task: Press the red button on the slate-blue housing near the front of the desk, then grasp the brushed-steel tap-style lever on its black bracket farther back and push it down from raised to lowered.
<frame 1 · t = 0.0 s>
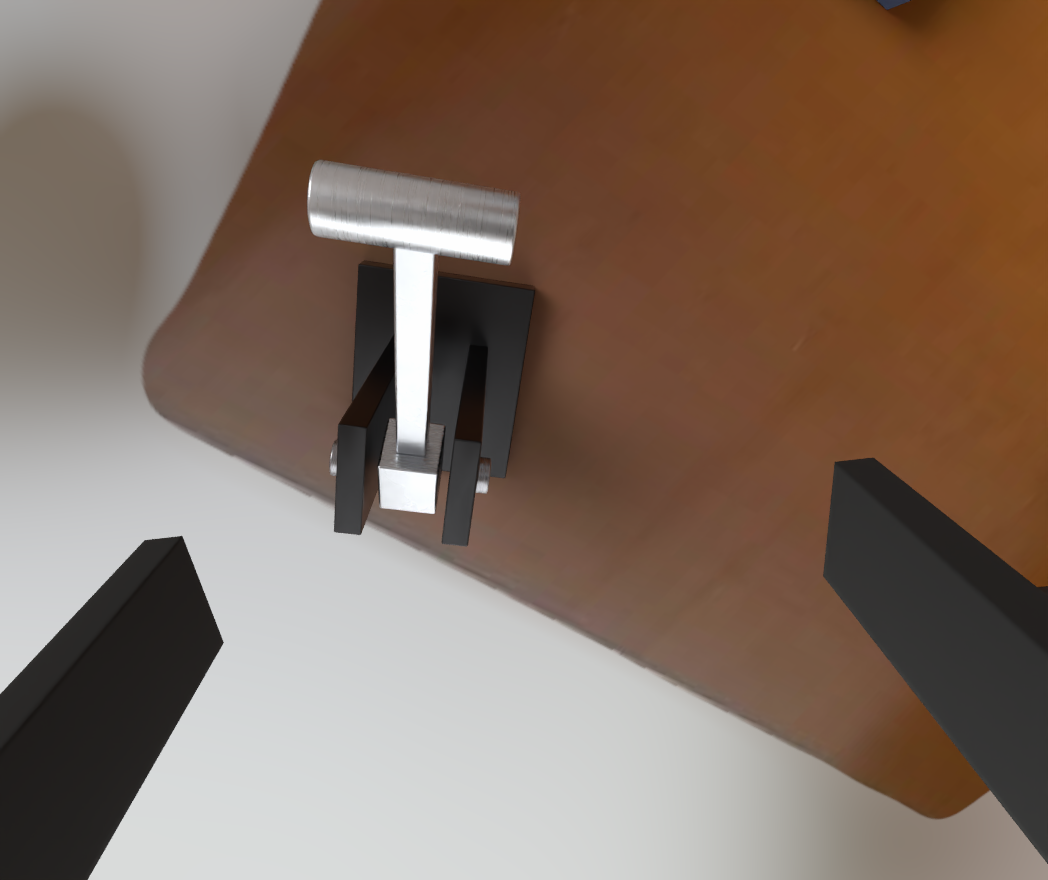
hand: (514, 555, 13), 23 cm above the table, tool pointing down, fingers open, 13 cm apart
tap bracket: (439, 372, 35), on the table
lever: (414, 372, 20), point 14 cm above the table, hinge at 28.0°
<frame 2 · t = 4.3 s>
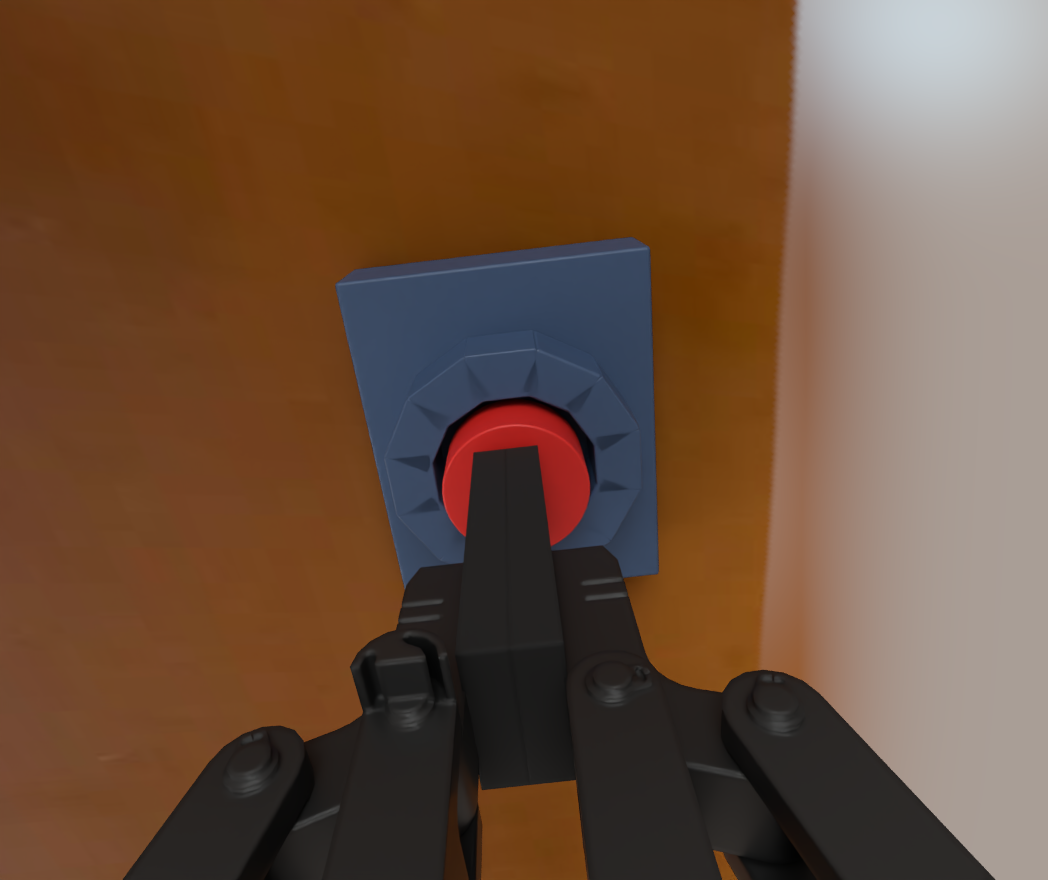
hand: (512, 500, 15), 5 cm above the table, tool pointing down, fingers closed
button: (515, 476, 16), point 4 cm above the table, slide at -0.3 cm, touching gripper
button box: (513, 416, 20), on the table
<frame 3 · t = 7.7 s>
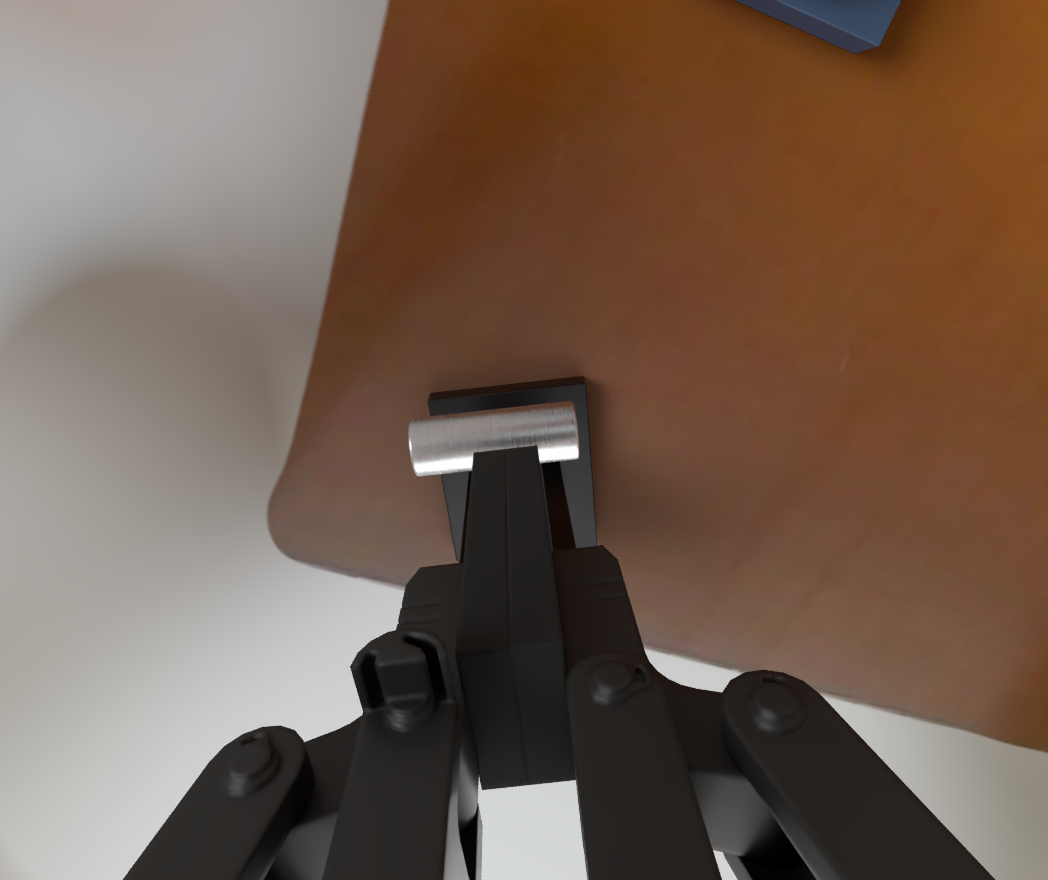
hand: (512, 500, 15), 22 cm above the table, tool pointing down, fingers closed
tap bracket: (516, 467, 39), on the table
lever: (512, 531, 24), point 14 cm above the table, hinge at 28.0°
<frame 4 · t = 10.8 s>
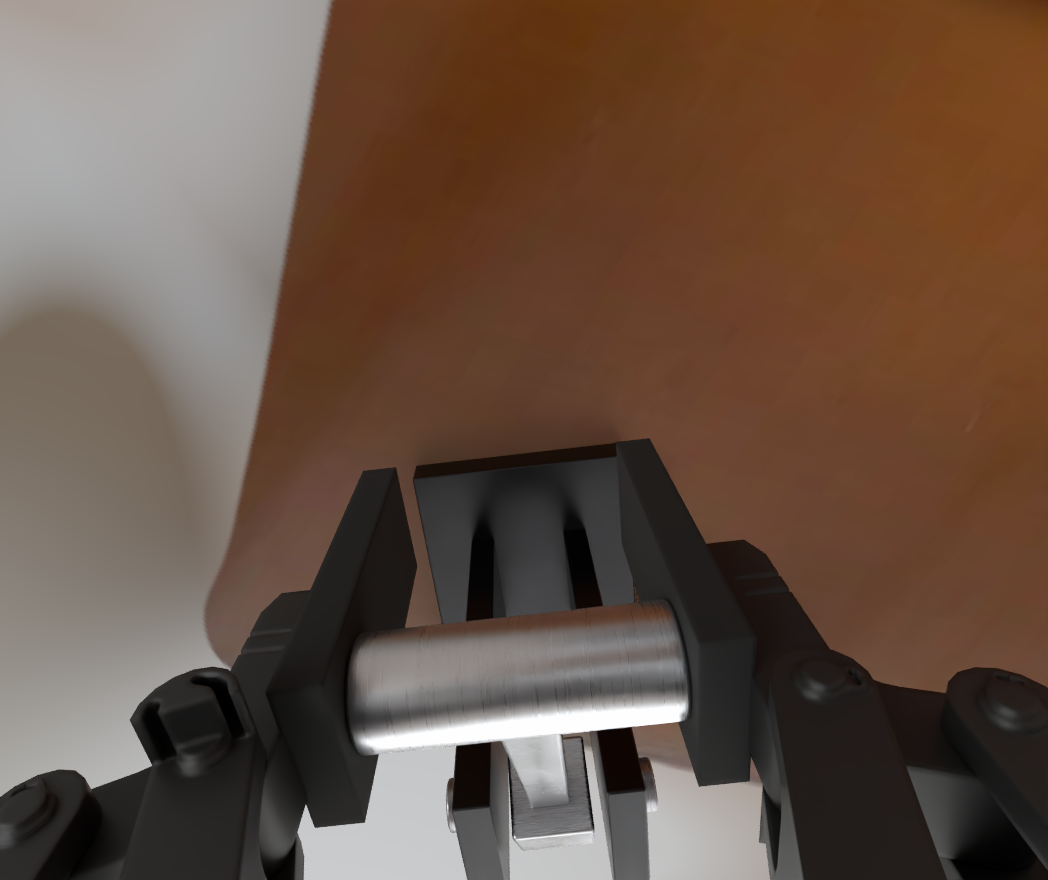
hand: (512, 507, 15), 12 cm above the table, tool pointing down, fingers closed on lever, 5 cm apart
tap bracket: (532, 559, 30), on the table
lever: (540, 755, 14), point 14 cm above the table, hinge at 28.0°, touching gripper
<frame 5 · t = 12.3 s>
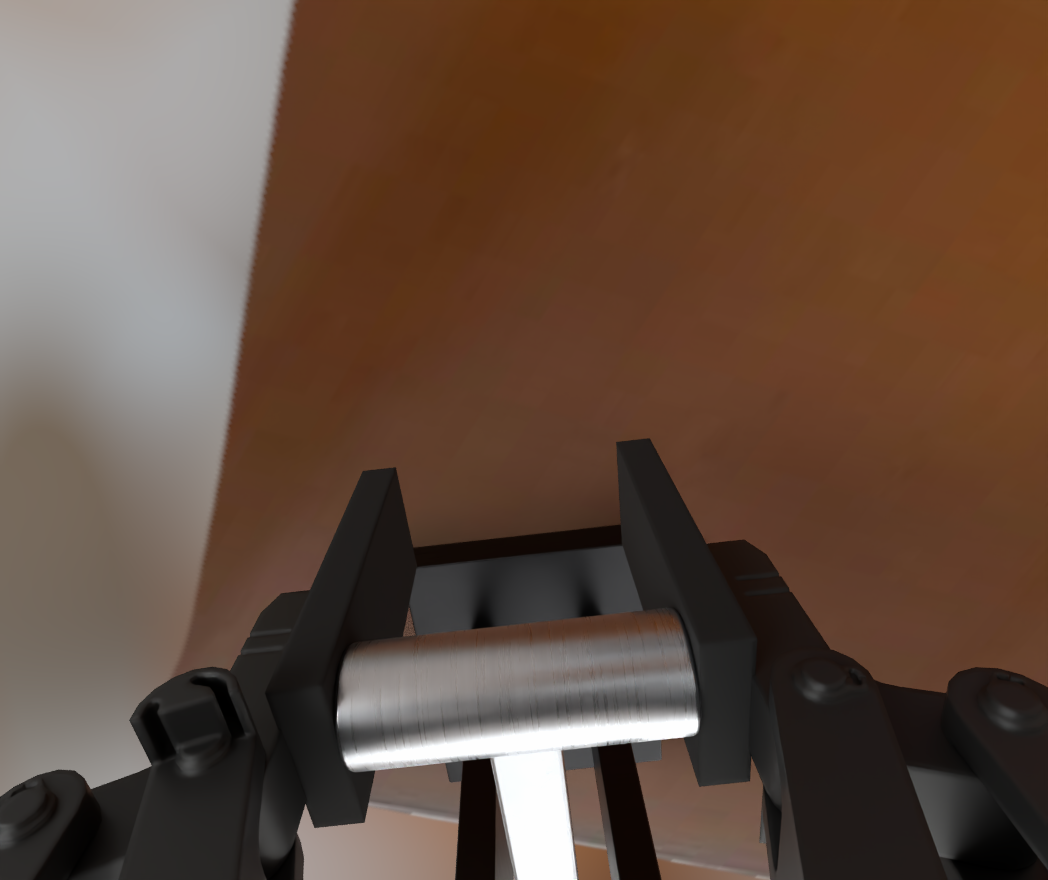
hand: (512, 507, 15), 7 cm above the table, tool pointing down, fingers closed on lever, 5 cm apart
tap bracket: (540, 649, 25), on the table
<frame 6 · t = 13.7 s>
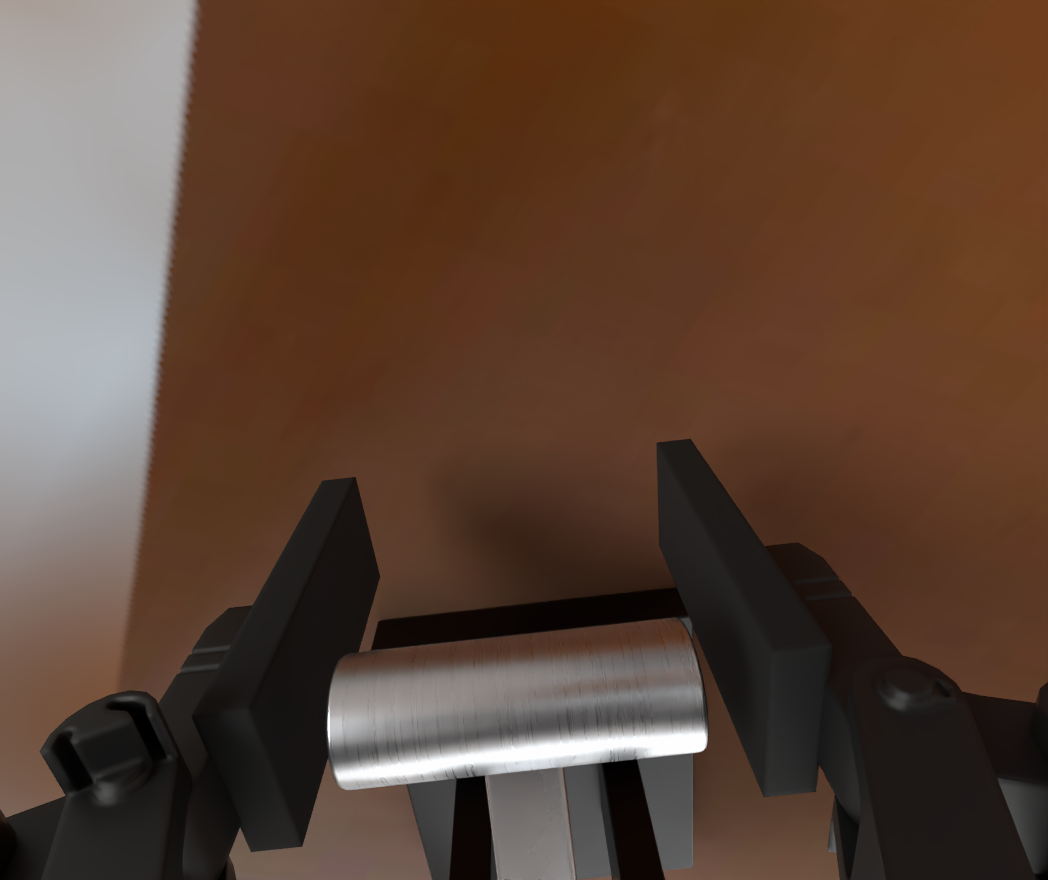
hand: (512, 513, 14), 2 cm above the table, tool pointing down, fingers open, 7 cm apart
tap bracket: (546, 736, 21), on the table
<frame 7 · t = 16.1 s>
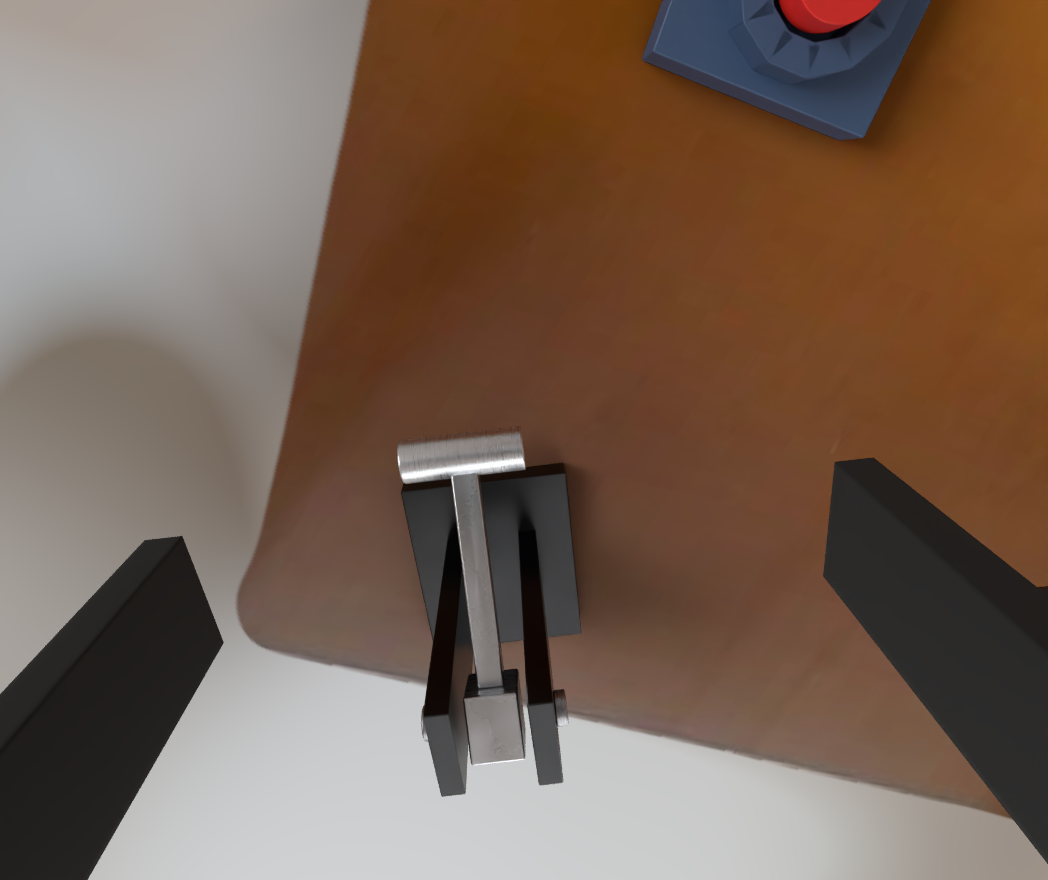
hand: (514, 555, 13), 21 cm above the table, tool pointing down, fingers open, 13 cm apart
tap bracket: (496, 554, 37), on the table
button box: (784, 1, 27), on the table
lever: (480, 592, 26), point 10 cm above the table, hinge at -19.9°
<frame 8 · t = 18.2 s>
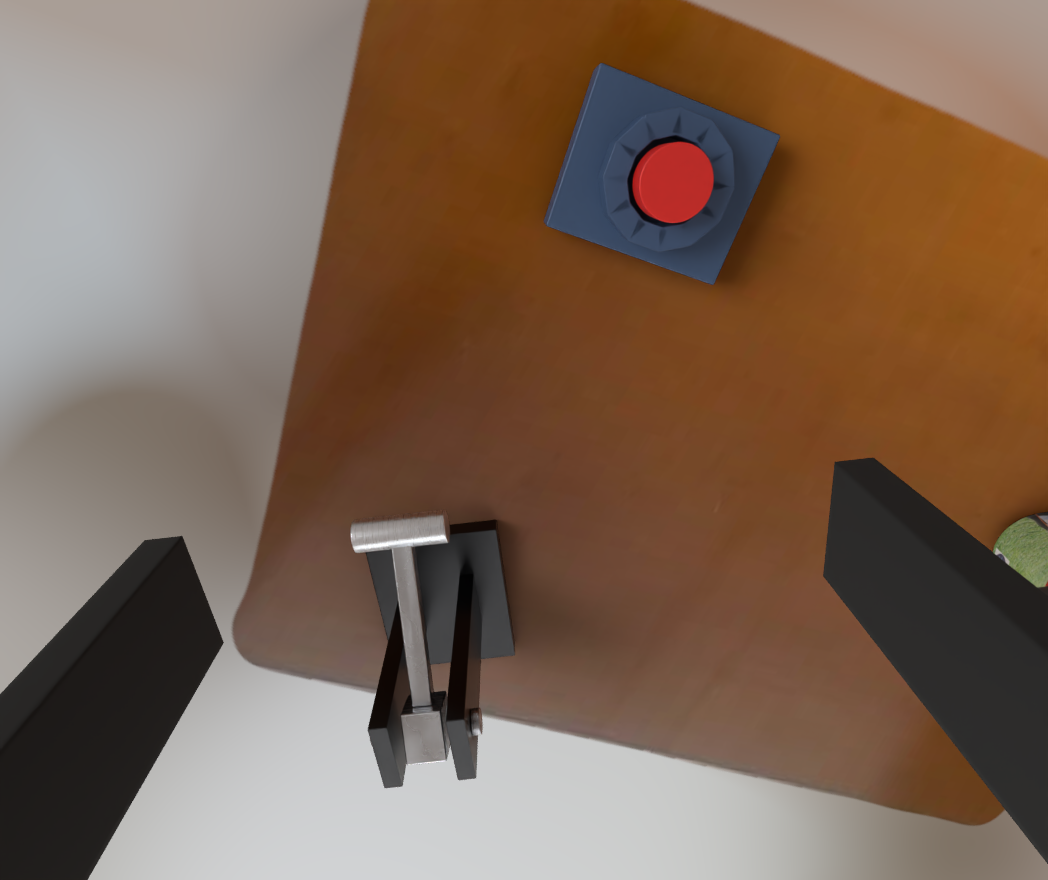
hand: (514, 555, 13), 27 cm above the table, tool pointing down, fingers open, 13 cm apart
beverage can: (1016, 539, 46), on the table
button: (672, 182, 31), point 4 cm above the table, slide at 0.1 cm
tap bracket: (444, 591, 46), on the table
button box: (651, 180, 35), on the table
lever: (414, 634, 34), point 10 cm above the table, hinge at -19.9°
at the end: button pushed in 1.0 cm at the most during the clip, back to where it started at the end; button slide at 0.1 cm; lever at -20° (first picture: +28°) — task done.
